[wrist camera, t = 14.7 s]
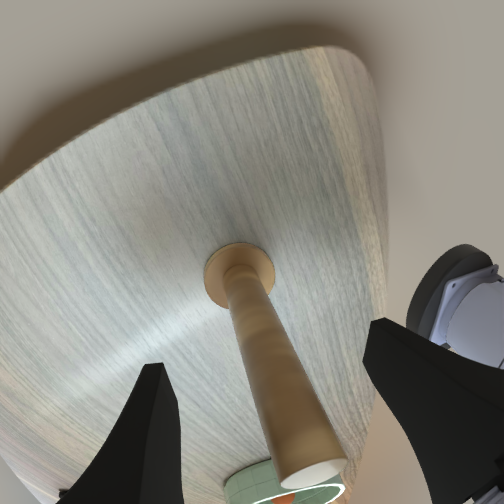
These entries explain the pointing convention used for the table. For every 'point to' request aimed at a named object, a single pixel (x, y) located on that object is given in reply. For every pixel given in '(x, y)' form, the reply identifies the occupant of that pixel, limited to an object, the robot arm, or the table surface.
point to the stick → (274, 370)
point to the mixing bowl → (276, 487)
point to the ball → (284, 499)
